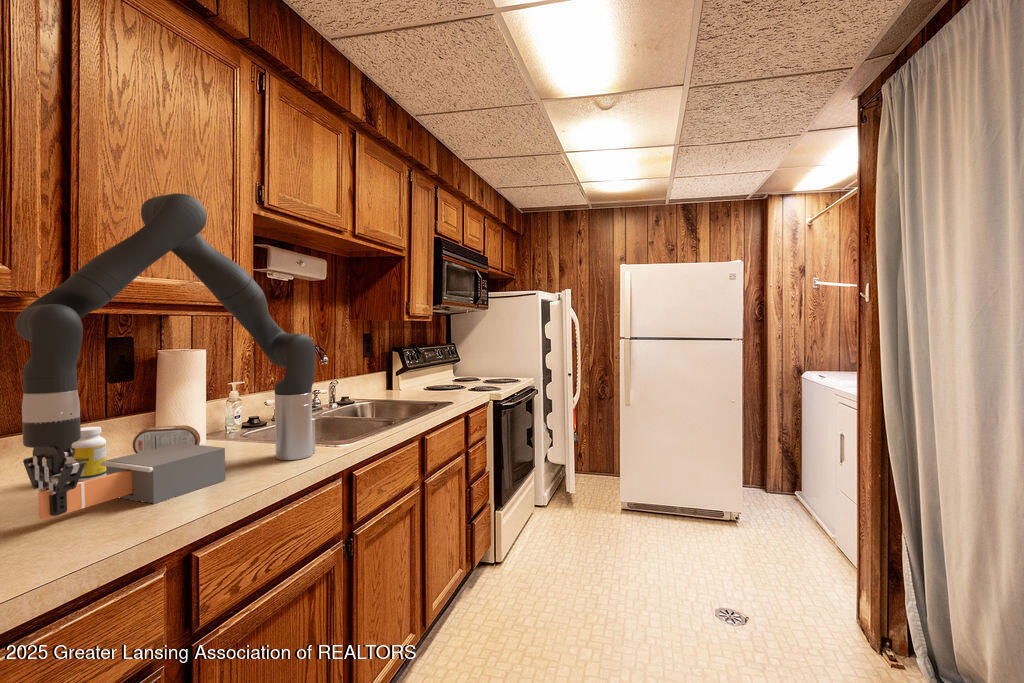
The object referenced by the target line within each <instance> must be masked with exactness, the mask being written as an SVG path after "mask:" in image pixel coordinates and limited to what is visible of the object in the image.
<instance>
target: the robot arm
mask: <svg viewBox="0 0 1024 683" xmlns="http://www.w3.org/2000/svg"><path fill="white" fill-rule="evenodd" d="M207 215H208V214H207V212H206V209H205V207H204V205H203V203H202V202H201V201H200V200H199V199H197V198H195V197H194V196H192V195H190V194H185V193H180V192H179V193H169V194H163V195H156V196H153V197H150V198H148V199H147V200H145V201H144V202H143V203H142V205H141V209H140V216H141V219H142V222H143V224H144V226H143V227H141V228H140V229H138V230H137V231H136V232H134V233H133V234H132V235H130V236H128V237H127V238H125V239H123V240H122V241H120V242H119V243H116V244H115V245H113V246H111V247H109V248H107V249H106V250H105V251H103V252H101V253H99V254H98V255H96V256H95V257H93V258H92V259H91V260H89V261H87V262H86V263H85V264H84V265H82V267H80V268H79V269H78V270H77V271H76V272H74V273H73V274H72V275H71V276H69V277H68V278H67V279H66V280H65V281H64V282H62V284H60V285H58V286H57V287H55V288H53V289H52V290H50V291H49V292H47V293H45V294H44V295H42V296H40V297H39V298H37V299H36V300H34V301H33V302H31V303H30V304H29V305H27V306H26V307H24V309H23V310H22V311H20V313H19V314H18V316H17V317H16V319H15V323H14V324H15V330H16V332H17V334H18V335H19V336H20V337H21V338H22V339H24V340H26V341H28V342H30V343H31V346H30V347H31V348H30V359H29V360H28V361H26V362H25V364H24V365H23V371H22V378H23V379H22V384H23V385H22V386H23V388H22V390H23V396H22V403H21V416H22V417H21V420H22V423H21V424H22V426H21V427H22V444H23V446H24V447H26V448H32V452H31V453H32V456H31V457H26V458H23V460H22V462H23V465H24V469H25V471H26V473H27V476H28V478H29V480H30V484H31V487H32V488H33V489H34V490H38V493H39V492H43V491H47V490H49V494H50V495H49V503H50V515H52V516H55V517H57V516H56V515H59V516H61V515H60V514H62V515H64V514H63V513H65V512H66V511H67V491H69V490H71V489H75V488H76V485H77V483H78V482H79V481H78V480H79V478H80V475H81V473H82V470H83V468H84V462H83V461H78V462H76V461H75V459H74V458H73V457H74V452H73V449H72V444H73V443H74V442H76V441H78V440H79V439H80V438H81V428H82V427H81V403H80V398H79V392H78V391H79V390H78V371H77V364H78V360H79V357H80V353H81V348H82V343H83V337H84V336H83V335H84V328H83V322H82V319H83V318H84V317H85V316H87V315H88V314H90V313H92V312H93V311H97V310H100V309H101V308H103V307H104V306H106V305H107V304H109V303H110V301H112V300H113V299H114V298H116V296H117V295H119V294H120V293H121V292H122V291H123V290H124V289H125V288H126V287H127V286H129V284H130V283H132V282H133V281H134V280H135V279H136V278H138V277H139V276H140V275H141V274H142V273H143V272H145V271H146V270H147V269H148V268H149V267H151V266H152V265H153V264H155V262H157V261H158V260H160V259H161V258H162V257H164V256H165V255H166V254H168V253H169V252H172V253H173V254H174V255H176V257H177V258H179V259H180V261H181V262H182V263H184V264H185V265H186V267H188V269H189V270H191V272H192V273H193V274H194V275H195V277H197V279H198V280H199V281H200V282H201V283H202V284H203V285H204V286H205V287H206V288H207V290H209V292H211V294H212V295H213V296H214V297H215V299H216V300H218V302H219V303H220V304H221V305H222V306H223V307H224V308H225V309H226V310H227V311H228V312H229V314H231V315H232V316H233V317H234V318H235V320H236V321H237V322H238V323H239V324H240V325H241V326H242V327H243V328H244V329H245V330H246V331H247V332H248V333H249V334H250V336H251V337H252V338H253V340H254V341H255V342H256V343H257V345H258V346H259V348H260V349H261V351H262V352H263V353H264V355H265V356H266V357H267V358H268V360H269V361H270V362H271V363H272V364H273V365H276V366H277V367H281V368H285V374H284V377H283V378H282V379H281V380H279V381H278V382H276V383H275V384H274V427H275V428H274V429H275V430H274V433H275V435H274V436H275V437H274V438H275V442H274V444H275V459H276V460H280V461H296V460H301V459H305V458H306V459H307V458H309V457H312V456H313V455H312V454H315V453H316V421H315V418H313V397H312V396H313V394H312V393H313V385H314V382H315V379H316V357H317V356H316V354H317V353H316V346H315V343H314V339H312V337H310V336H309V335H307V334H305V333H287V332H285V331H284V330H283V329H282V328H281V327H280V326H279V325H278V324H277V322H276V321H275V320H274V319H273V318H272V316H271V315H270V311H269V308H268V301H267V298H266V295H265V293H264V290H263V289H262V288H261V286H260V285H259V284H258V283H257V281H255V279H254V277H252V276H251V274H249V273H248V271H246V270H245V268H243V267H242V266H241V265H240V264H238V263H237V262H236V261H234V260H232V259H231V258H229V257H228V256H226V255H225V254H223V253H222V252H220V251H219V250H217V249H216V248H214V247H213V246H212V245H211V244H210V243H209V242H208V241H207V240H206V239H205V238H204V237H203V235H201V234H200V233H201V232H202V231H203V230H204V228H205V226H206V224H207V219H208V217H207ZM314 452H315V453H314ZM65 514H66V513H65Z"/></svg>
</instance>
